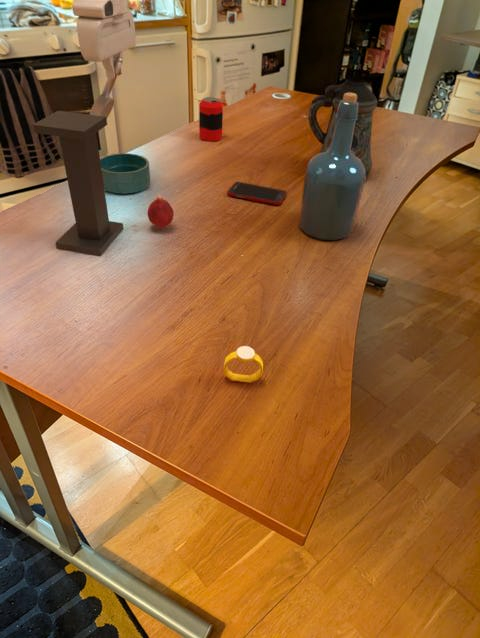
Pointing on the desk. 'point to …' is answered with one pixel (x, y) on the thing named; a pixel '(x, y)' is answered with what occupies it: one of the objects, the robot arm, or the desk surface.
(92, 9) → the robot arm
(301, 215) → the wine bottle
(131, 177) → the bowl
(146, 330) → the desk surface
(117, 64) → the grey scoop
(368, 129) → the beer stein
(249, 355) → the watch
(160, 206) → the onion
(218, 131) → the soda can
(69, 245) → the brown pedestal stand
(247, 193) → the cell phone
